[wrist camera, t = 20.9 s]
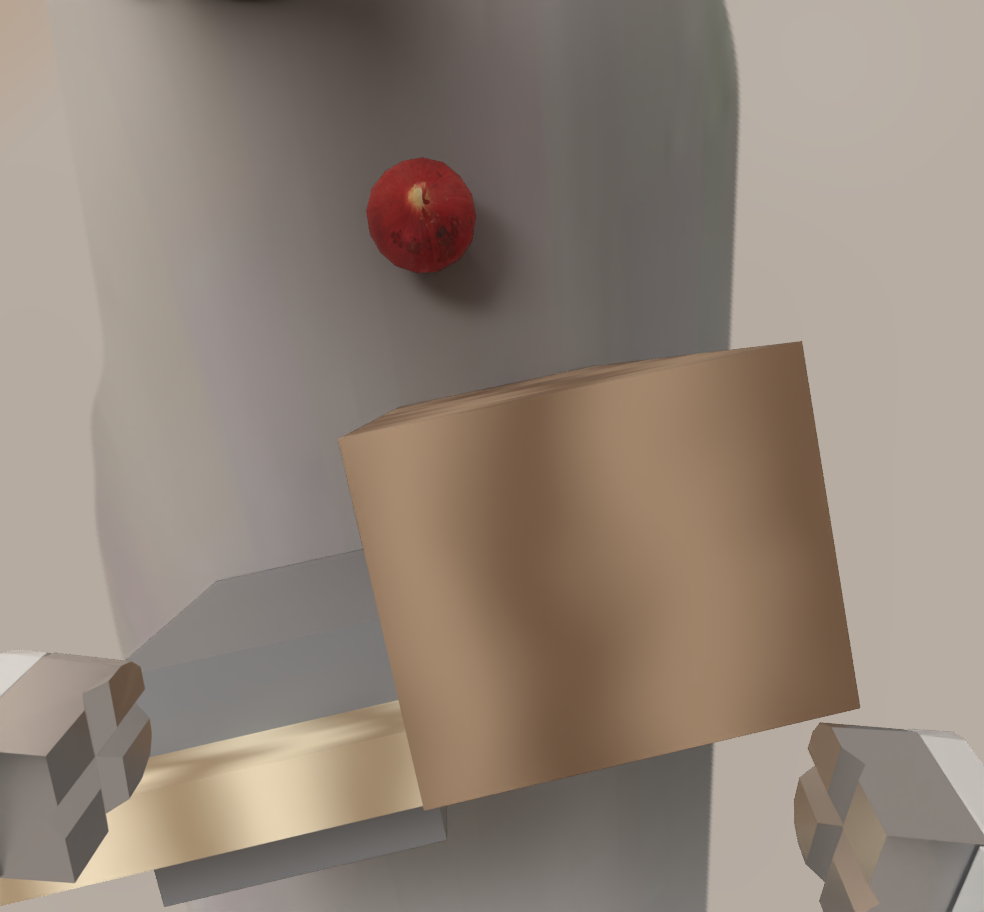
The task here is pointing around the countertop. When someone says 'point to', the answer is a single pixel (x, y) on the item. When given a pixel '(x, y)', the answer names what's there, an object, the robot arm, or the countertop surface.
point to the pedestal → (602, 566)
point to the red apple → (421, 215)
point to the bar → (251, 795)
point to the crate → (274, 702)
